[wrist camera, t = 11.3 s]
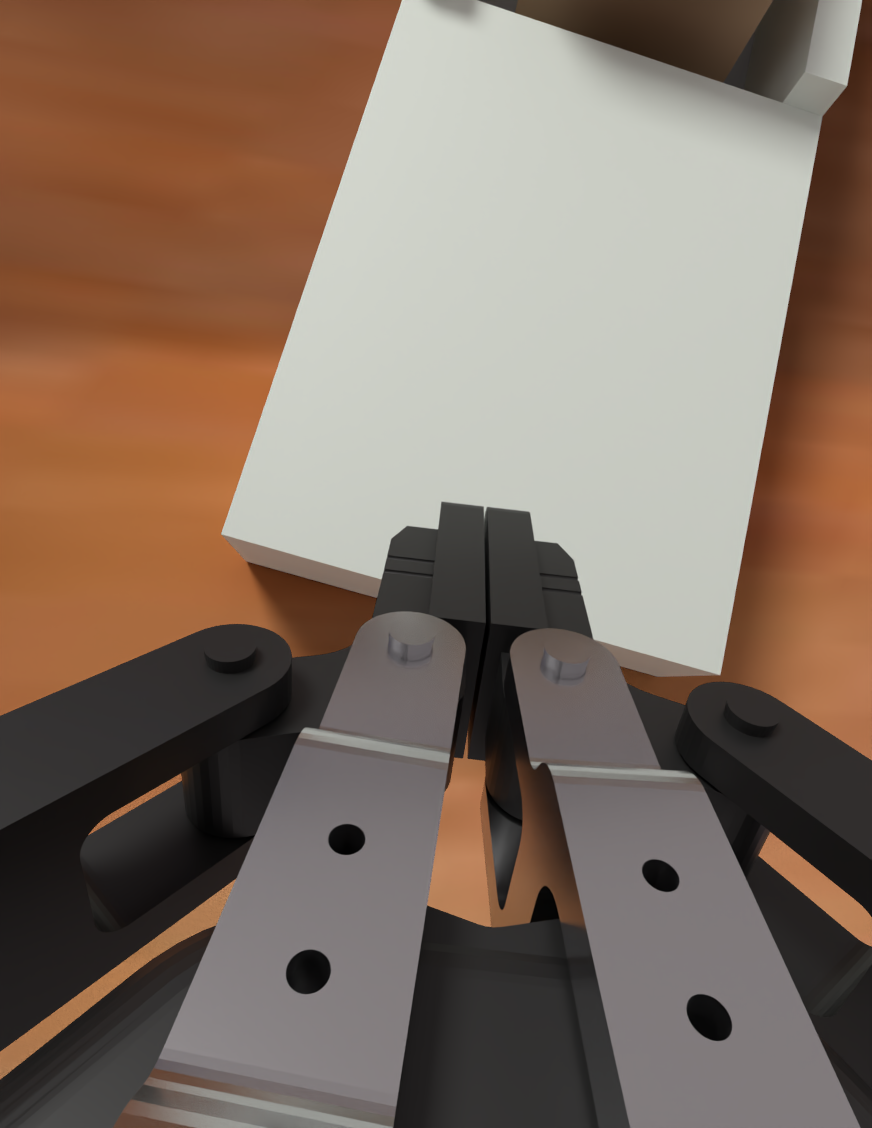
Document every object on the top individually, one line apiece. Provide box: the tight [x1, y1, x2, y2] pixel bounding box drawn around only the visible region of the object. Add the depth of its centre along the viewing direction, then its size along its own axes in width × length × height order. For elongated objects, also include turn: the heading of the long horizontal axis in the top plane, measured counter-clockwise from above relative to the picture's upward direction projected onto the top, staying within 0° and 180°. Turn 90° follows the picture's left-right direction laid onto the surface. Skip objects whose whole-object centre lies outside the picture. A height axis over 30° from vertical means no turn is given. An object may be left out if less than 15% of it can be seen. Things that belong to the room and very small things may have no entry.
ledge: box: [221, 0, 822, 677], centre depth 19 cm, size 12×16×4 cm
